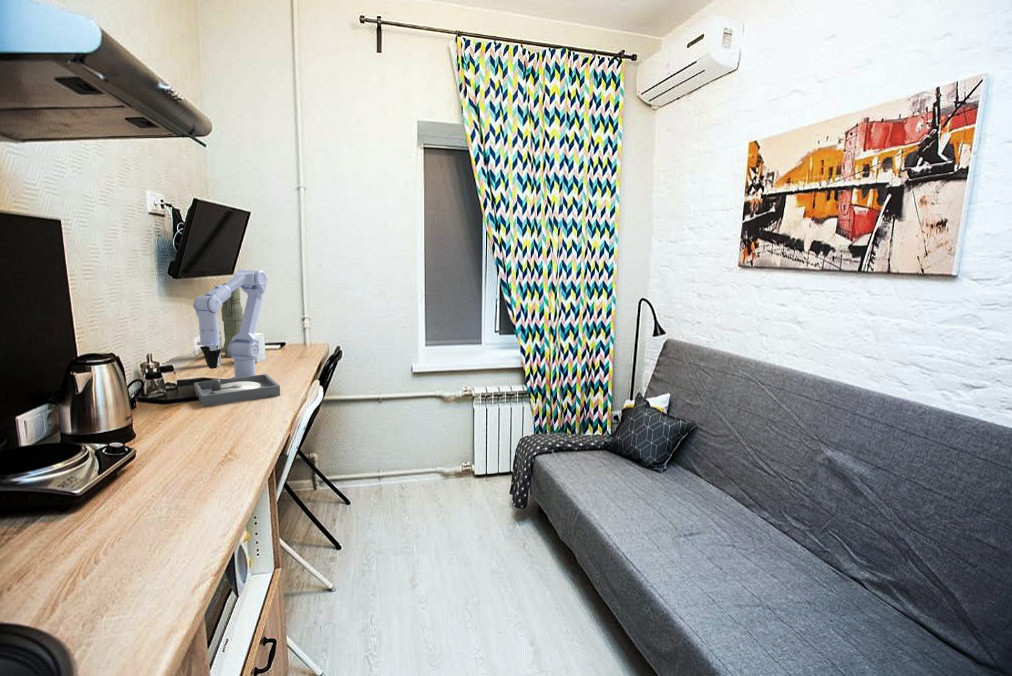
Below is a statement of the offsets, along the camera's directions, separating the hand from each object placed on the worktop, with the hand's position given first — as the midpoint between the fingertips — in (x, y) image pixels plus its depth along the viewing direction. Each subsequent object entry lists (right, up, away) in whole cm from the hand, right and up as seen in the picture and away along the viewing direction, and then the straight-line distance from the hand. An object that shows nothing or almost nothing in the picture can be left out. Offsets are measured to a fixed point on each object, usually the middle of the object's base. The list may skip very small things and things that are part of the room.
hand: (211, 366), depth 174 cm
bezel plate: (+9, -10, +1) cm, 13 cm away
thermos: (-26, +2, +61) cm, 67 cm away
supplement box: (-11, 0, +51) cm, 53 cm away
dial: (+9, -9, 0) cm, 12 cm away
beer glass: (-24, -2, +41) cm, 48 cm away
